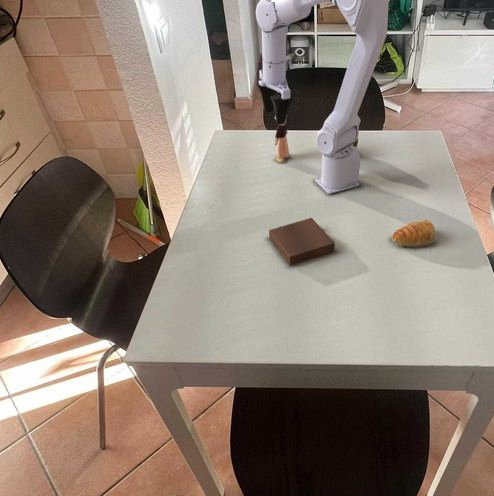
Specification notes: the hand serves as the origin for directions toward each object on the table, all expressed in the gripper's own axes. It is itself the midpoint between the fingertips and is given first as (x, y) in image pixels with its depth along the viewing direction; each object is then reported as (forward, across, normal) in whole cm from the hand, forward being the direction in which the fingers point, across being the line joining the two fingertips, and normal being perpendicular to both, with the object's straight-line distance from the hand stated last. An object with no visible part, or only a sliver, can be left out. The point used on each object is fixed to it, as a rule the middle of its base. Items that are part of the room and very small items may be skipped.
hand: (274, 117), depth 115 cm
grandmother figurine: (+12, +1, +2) cm, 12 cm away
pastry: (+9, +51, +12) cm, 53 cm away
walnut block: (+10, +41, -12) cm, 44 cm away
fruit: (+11, +7, +18) cm, 22 cm away
